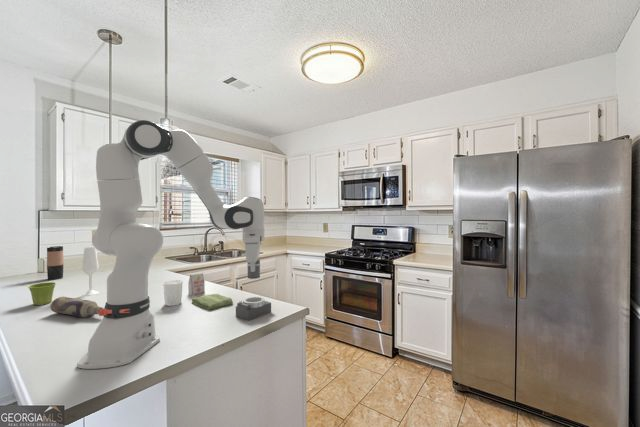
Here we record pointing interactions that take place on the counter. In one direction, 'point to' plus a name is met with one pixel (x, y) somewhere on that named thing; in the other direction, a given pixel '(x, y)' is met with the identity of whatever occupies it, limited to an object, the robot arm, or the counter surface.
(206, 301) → the washcloth
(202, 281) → the white food carton
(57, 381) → the counter surface
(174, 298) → the white cup
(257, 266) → the lens
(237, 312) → the camera body
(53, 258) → the travel mug
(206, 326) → the counter surface
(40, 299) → the plant pot
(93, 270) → the champagne flute
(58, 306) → the decorative bottle
